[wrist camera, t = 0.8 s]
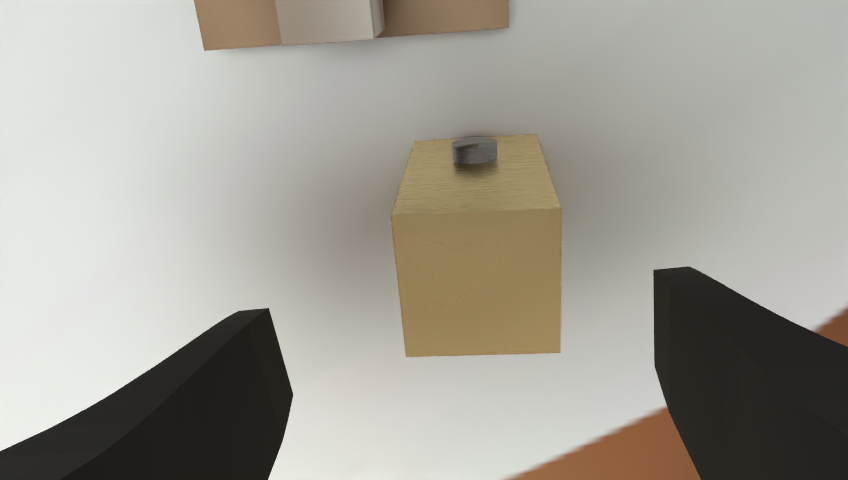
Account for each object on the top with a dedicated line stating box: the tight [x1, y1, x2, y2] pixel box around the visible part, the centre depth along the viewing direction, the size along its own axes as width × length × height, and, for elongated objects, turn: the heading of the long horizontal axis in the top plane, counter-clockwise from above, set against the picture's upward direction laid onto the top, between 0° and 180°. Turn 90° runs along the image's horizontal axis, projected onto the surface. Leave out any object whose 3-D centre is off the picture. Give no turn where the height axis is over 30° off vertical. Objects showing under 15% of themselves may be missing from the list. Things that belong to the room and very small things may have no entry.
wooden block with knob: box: [391, 134, 561, 357], centre depth 17 cm, size 4×4×6 cm
